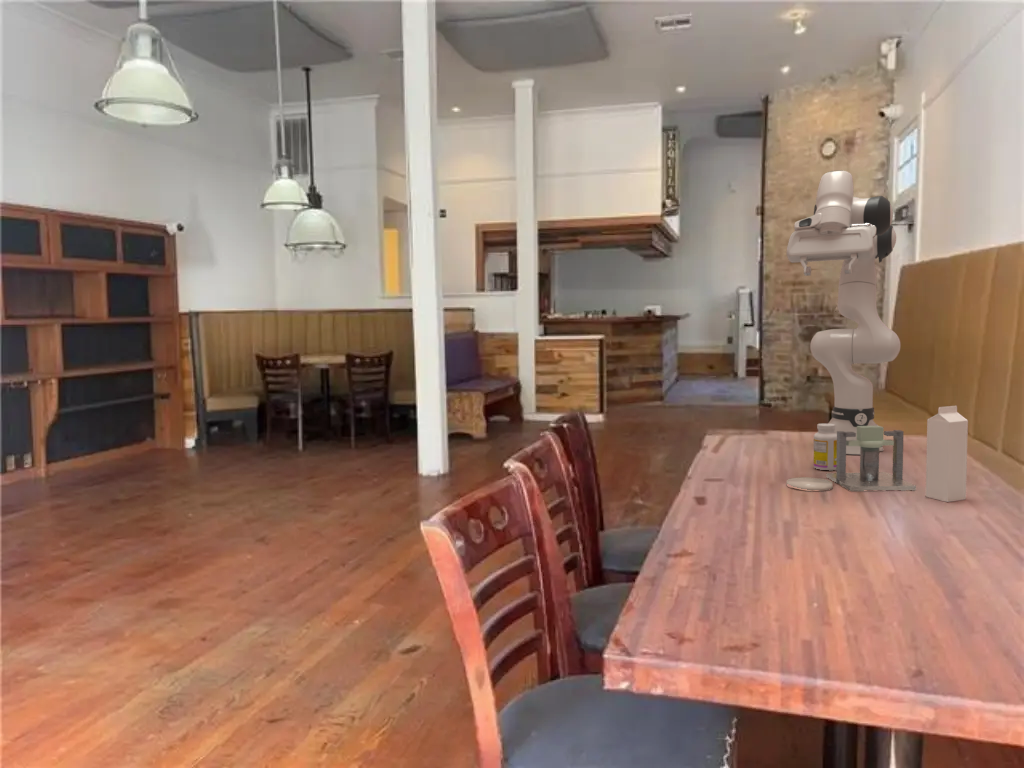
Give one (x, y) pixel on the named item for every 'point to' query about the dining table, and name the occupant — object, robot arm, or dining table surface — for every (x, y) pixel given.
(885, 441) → the pale green disc-and-bar piece
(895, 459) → the twin post base plate
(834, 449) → the supplement bottle
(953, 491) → the milk
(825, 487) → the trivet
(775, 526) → the dining table surface
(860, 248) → the robot arm
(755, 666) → the dining table surface
